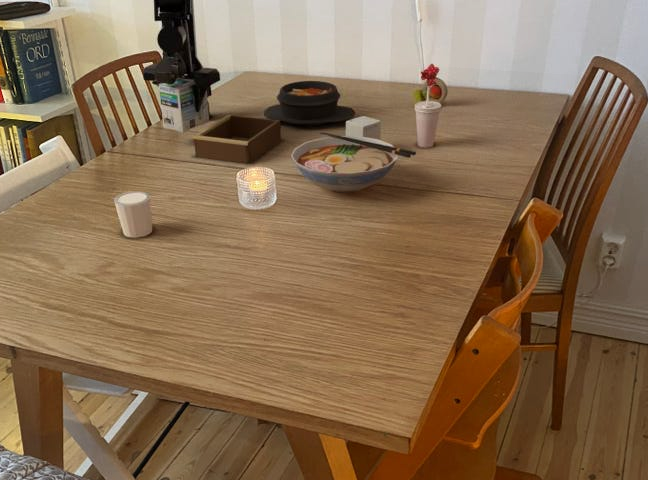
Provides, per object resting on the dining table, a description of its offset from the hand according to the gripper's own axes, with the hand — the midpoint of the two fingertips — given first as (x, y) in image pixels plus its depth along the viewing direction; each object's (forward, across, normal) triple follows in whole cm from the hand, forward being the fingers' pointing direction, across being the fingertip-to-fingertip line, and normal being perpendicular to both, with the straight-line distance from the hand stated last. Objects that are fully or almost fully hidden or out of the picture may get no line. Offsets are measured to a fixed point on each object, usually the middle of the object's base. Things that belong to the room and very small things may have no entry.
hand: (185, 110), depth 183 cm
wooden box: (+8, +15, 0) cm, 17 cm away
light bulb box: (+4, 0, 0) cm, 4 cm away
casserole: (+8, +22, +26) cm, 35 cm away
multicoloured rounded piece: (+8, +49, +49) cm, 70 cm away
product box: (+8, +44, +8) cm, 46 cm away
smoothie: (+8, +57, +17) cm, 60 cm away
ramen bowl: (+8, +48, -14) cm, 51 cm away
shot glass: (+8, +18, -49) cm, 53 cm away
